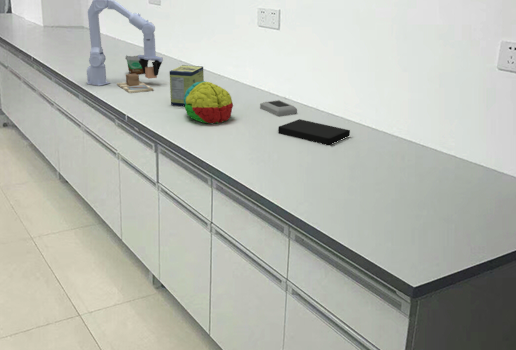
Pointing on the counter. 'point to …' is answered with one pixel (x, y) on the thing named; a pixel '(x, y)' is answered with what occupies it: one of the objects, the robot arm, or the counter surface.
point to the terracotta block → (149, 72)
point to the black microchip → (313, 131)
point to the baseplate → (134, 84)
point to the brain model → (208, 103)
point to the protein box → (183, 82)
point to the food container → (134, 65)
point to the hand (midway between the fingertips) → (150, 74)
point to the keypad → (278, 108)
